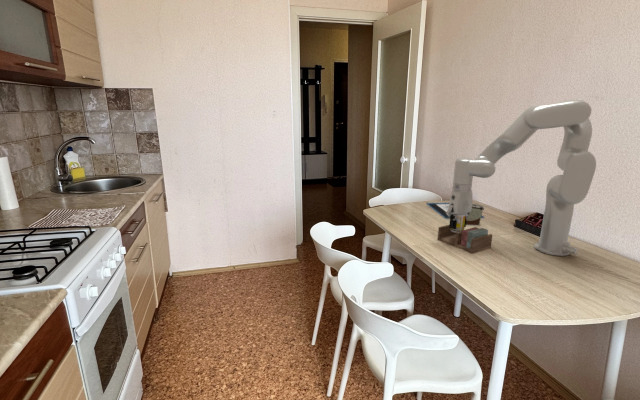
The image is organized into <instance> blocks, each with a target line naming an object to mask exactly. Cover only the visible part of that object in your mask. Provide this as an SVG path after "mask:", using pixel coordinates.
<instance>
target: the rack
mask: <svg viewBox="0 0 640 400" xmlns="http://www.w3.org/2000/svg"><path fill="white" fill-rule="evenodd" d="M437 241H440V242H442V243H445V244H448V245H450V246H452V247H455V248H457V249H459V250H462V251H464V252H467V253H469V254H472V255H473V254H476V253H479V252H482V251H486V250H489V249H491V248H492V241H493V234H492V233H489V229H487V228H484V227H480V228H479V227H476V226H475V227H474V226H473V227H470V228H466V229H464V230H462V232H460V233H455V232H452V231H451V229H450V228H449V224H447V225H442V226H438V231H437Z"/></svg>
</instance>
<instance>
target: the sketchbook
mask: <svg viewBox="0 0 640 400" xmlns="http://www.w3.org/2000/svg"><path fill="white" fill-rule="evenodd" d="M425 204H426V206H427V207H428V208H430V209H432V210H433V211H434V212H435V213H437V214H438V215H439V216H441V217H442V218H444V219H445V220H450V219H449V217H448V215H447V214H446V212H447V211H448V209H449V201H446V202H443V201H442V202H439V201H438V202H435V201H434V202H427V203H425ZM481 219H485V216H483V214H482V215H481Z"/></svg>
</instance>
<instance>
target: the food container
mask: <svg viewBox="0 0 640 400" xmlns="http://www.w3.org/2000/svg"><path fill="white" fill-rule="evenodd" d="M483 211H485V208H484V206H483V205H481V204H479V203H472V210H471V212H470V213H469V215H468V218H467V221H466V226H480V224H481V219H482V218H481V215H482V216H483Z"/></svg>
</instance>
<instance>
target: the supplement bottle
mask: <svg viewBox="0 0 640 400" xmlns="http://www.w3.org/2000/svg"><path fill="white" fill-rule="evenodd" d="M453 213H454V212H453ZM454 215H455V214H453V216H454ZM465 216H466V215H465V214H460V215H457V218H456V221H457V224H456V229H452V228H450V229H451V231H452V232H455V233H460V232H462V230H465V227H464V224H465Z"/></svg>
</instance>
